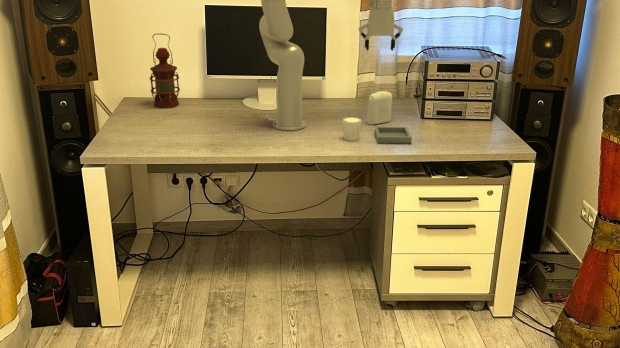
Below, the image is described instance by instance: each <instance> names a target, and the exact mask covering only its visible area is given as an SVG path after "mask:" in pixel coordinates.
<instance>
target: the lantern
mask: <svg viewBox="0 0 620 348" xmlns="http://www.w3.org/2000/svg"><path fill="white" fill-rule="evenodd" d="M155 35H156V36H157V33H154V34H153V35H152V41H153V42H154V49H153V50H152V58H153V61H152V62H153V63H154V66H152V67H150V68H149V69H150V71H151V73H150V77H149V80H150V88H151V89H150V93H151V96H152V97H153V98H154V99H153V100H154V101H153V102H154V103H153V106H154V107H155V108H157V107H158V109H172V108H176V106H177V107H178V106H179V105H180V103H179V98H178V96H179V95H180V94H179V92H180V91H181V89H180V86H179V80H180V76H179V73H178V72H177V70H178V67H177V66H175V65H173V64H174V60H173V53H172V51H171V49H170V46H169V43H170V41H171V36H170V35H168V34H167V33H158V36H159V35H161V36H167V37H168V43H167V47H168V49H167V48H166V47H159V48H157V50H156V52H155V49H156V46H157V44H156V41H155V38H154V36H155ZM155 57H156V58H155ZM170 57H171V58H170ZM169 58H170V60H169ZM157 60H158V62H159V63H158V64H156V63H157ZM168 60H169V63H168ZM153 78H154V79H153ZM175 81H176V85H175ZM154 85H155V87H154ZM154 90H155V91H154Z"/></svg>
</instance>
